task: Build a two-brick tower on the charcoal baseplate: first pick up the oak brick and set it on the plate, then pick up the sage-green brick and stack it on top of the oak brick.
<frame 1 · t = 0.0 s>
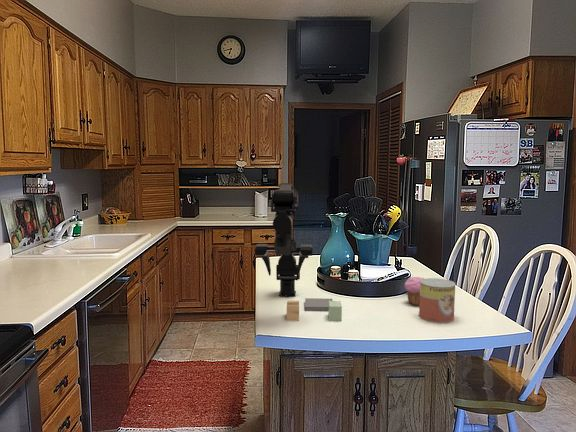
hand: (283, 275, 153), 15 cm above the countertop, tool pointing down, fingers open, 9 cm apart
sage brick: (334, 318, 155), on the countertop
grey baseplate: (319, 306, 167), on the countertop
cupcake: (416, 304, 171), on the countertop
canned food: (436, 318, 156), on the countertop
oak brick: (293, 317, 156), on the countertop
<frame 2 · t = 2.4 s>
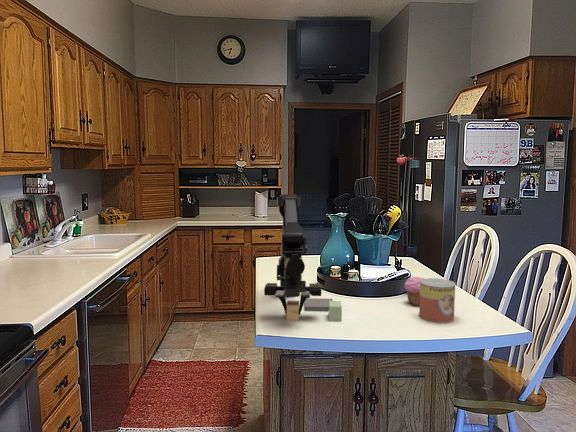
hand: (292, 314, 156), 1 cm above the countertop, tool pointing down, fingers closed on oak brick, 4 cm apart
oak brick: (292, 317, 156), on the countertop, touching gripper
everything else where it was.
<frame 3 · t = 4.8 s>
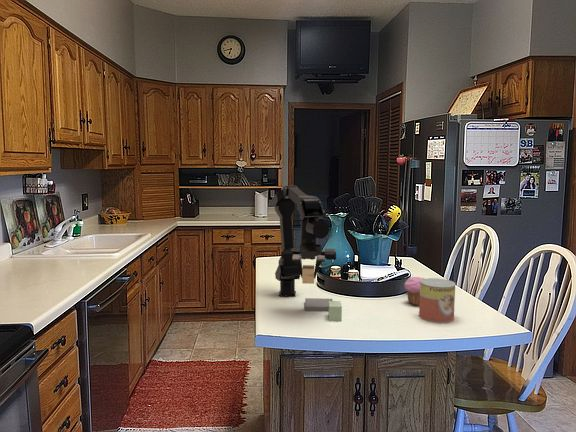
hand: (308, 278, 161), 12 cm above the countertop, tool pointing down, fingers closed on oak brick, 4 cm apart
oak brick: (308, 281, 161), point 11 cm above the countertop, touching gripper
everything else where it was.
when the fingers open (3 cm above the countertop, at t = 7.1 s): oak brick stays where it is, resting on grey baseplate.
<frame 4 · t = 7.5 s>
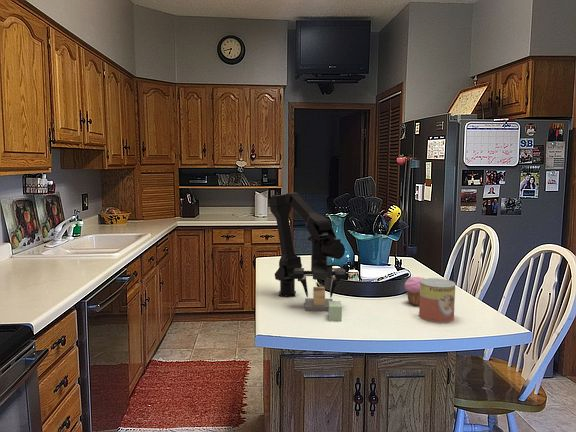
hand: (319, 297, 167), 3 cm above the countertop, tool pointing down, fingers open, 8 cm apart
oak brick: (318, 302, 167), point 1 cm above the countertop, touching grey baseplate
everything else where it was.
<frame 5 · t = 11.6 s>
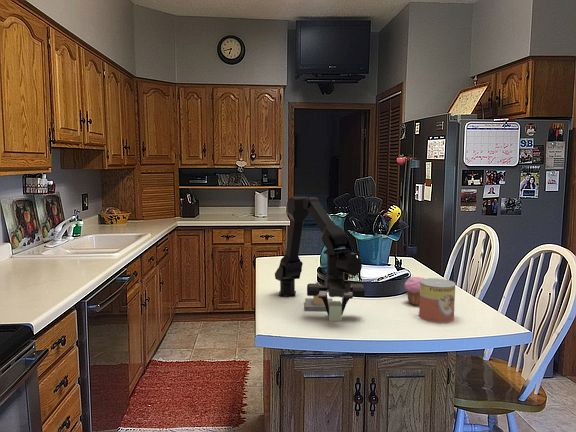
hand: (334, 314, 155), 1 cm above the countertop, tool pointing down, fingers closed on sage brick, 4 cm apart
sage brick: (334, 318, 155), on the countertop, touching gripper
everything else where it was.
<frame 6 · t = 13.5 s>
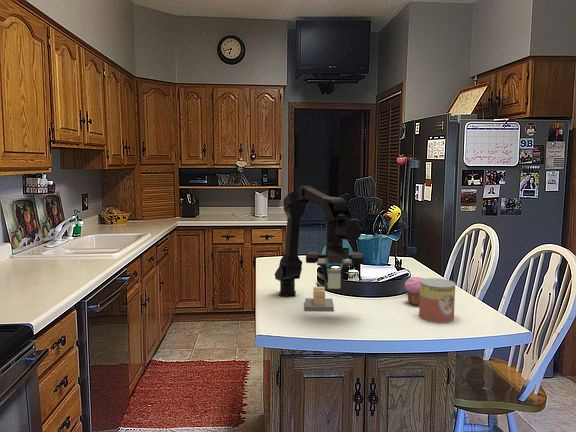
hand: (333, 282, 155), 12 cm above the countertop, tool pointing down, fingers closed on sage brick, 4 cm apart
sage brick: (333, 286, 155), point 11 cm above the countertop, touching gripper
everything else where it was.
when the fingers open (8 cm above the countertop, at t = 15.3 s): sage brick stays where it is, resting on oak brick.
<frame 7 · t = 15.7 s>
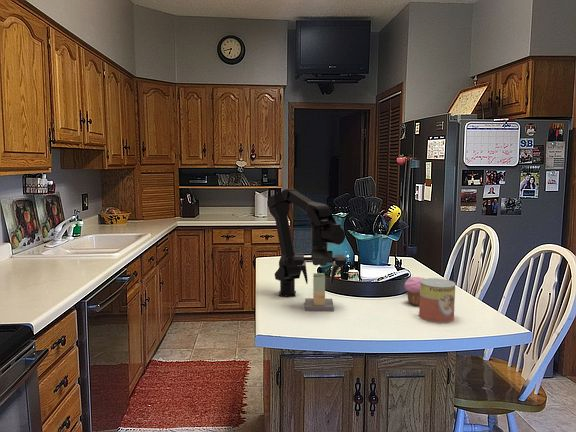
hand: (319, 283, 166), 8 cm above the countertop, tool pointing down, fingers open, 8 cm apart
sage brick: (319, 288, 167), point 6 cm above the countertop, touching oak brick
oak brick: (318, 302, 167), point 1 cm above the countertop, touching grey baseplate, sage brick
everything else where it was.
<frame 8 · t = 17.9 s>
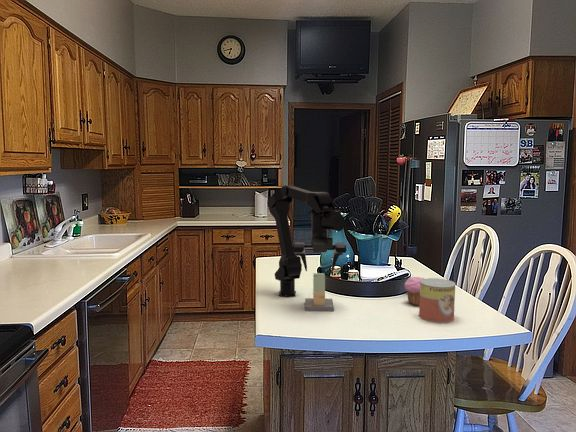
hand: (319, 271, 166), 13 cm above the countertop, tool pointing down, fingers open, 9 cm apart
nothing on the countertop moved.
at the end: oak brick 0.0 cm off-centre on the grey baseplate, point 1.5 cm above the grey baseplate's base; sage brick 0.0 cm off-centre on the oak brick, point 5.0 cm above the oak brick's base; sage brick tilted 0° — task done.
